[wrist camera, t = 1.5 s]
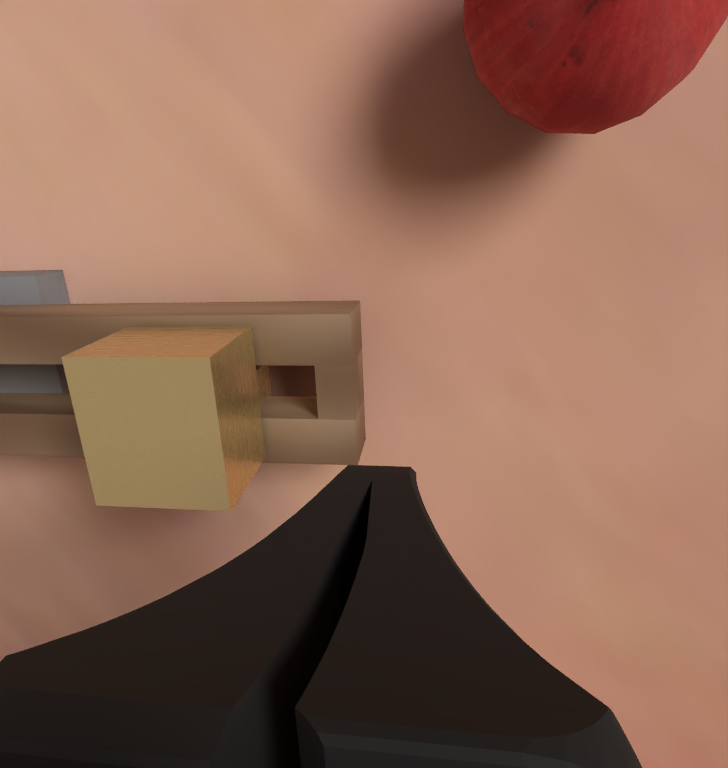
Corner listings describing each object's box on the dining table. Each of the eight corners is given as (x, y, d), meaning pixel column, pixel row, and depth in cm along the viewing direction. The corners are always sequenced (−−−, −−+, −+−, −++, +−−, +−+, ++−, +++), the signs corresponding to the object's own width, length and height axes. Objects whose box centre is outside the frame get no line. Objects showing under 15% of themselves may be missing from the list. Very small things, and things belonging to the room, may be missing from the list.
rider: (281, 433, 20) (231, 511, 15) (176, 431, 20) (96, 505, 16) (269, 312, 18) (209, 357, 14) (156, 313, 19) (61, 357, 14)
